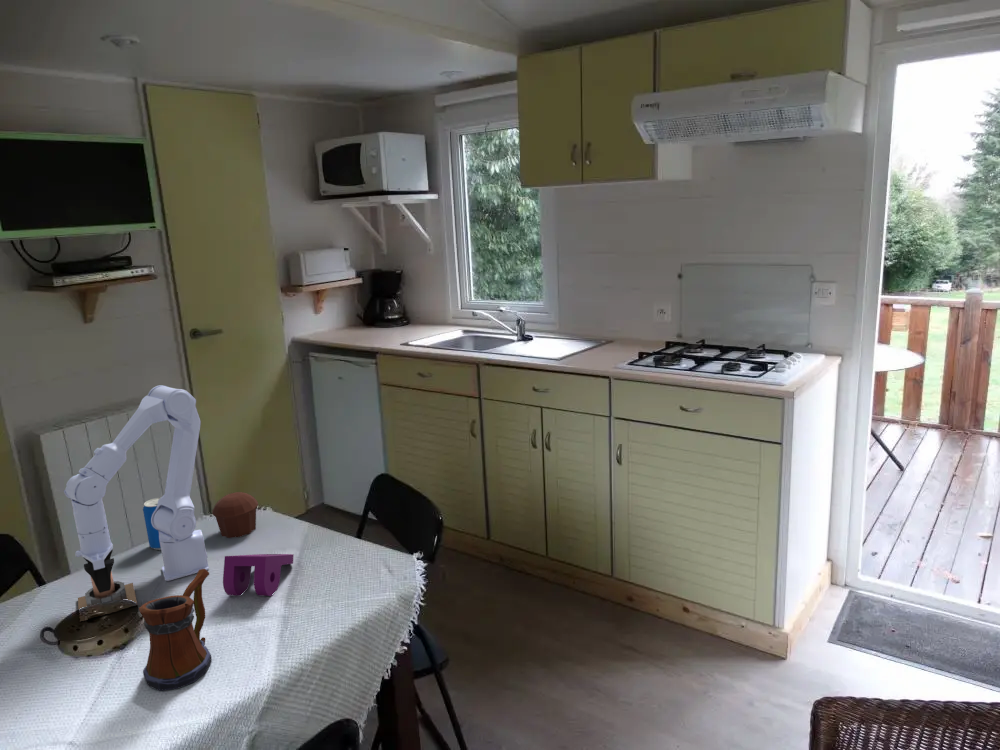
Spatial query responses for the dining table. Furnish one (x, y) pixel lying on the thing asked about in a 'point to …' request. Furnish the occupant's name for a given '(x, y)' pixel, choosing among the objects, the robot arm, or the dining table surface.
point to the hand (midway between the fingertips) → (104, 586)
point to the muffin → (236, 514)
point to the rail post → (106, 593)
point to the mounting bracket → (264, 572)
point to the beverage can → (151, 531)
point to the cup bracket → (120, 594)
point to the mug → (176, 638)
